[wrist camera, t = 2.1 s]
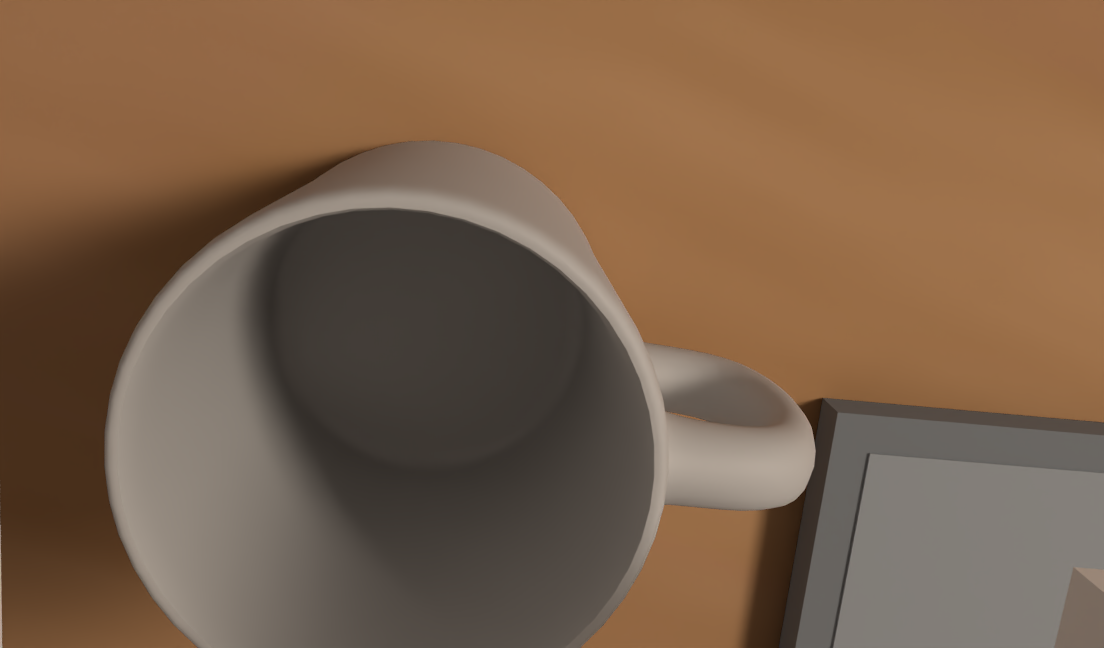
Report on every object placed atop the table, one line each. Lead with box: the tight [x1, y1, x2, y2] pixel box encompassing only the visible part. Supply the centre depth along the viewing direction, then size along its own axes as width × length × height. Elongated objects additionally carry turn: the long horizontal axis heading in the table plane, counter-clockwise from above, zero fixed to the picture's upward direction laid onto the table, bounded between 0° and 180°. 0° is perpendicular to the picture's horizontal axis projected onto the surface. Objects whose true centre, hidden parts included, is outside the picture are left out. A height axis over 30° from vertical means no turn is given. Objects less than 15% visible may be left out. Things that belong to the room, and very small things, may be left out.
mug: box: [105, 141, 816, 648], centre depth 20 cm, size 12×8×11 cm
